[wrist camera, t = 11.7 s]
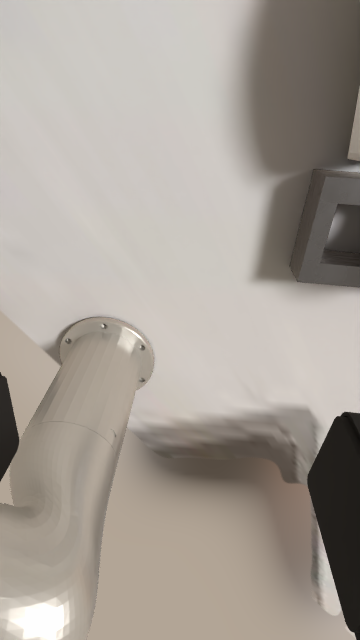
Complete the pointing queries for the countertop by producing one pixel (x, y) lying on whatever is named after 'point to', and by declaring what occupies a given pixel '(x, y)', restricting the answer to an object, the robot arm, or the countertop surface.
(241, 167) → the countertop surface
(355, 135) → the hinge
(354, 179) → the rail
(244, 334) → the countertop surface
